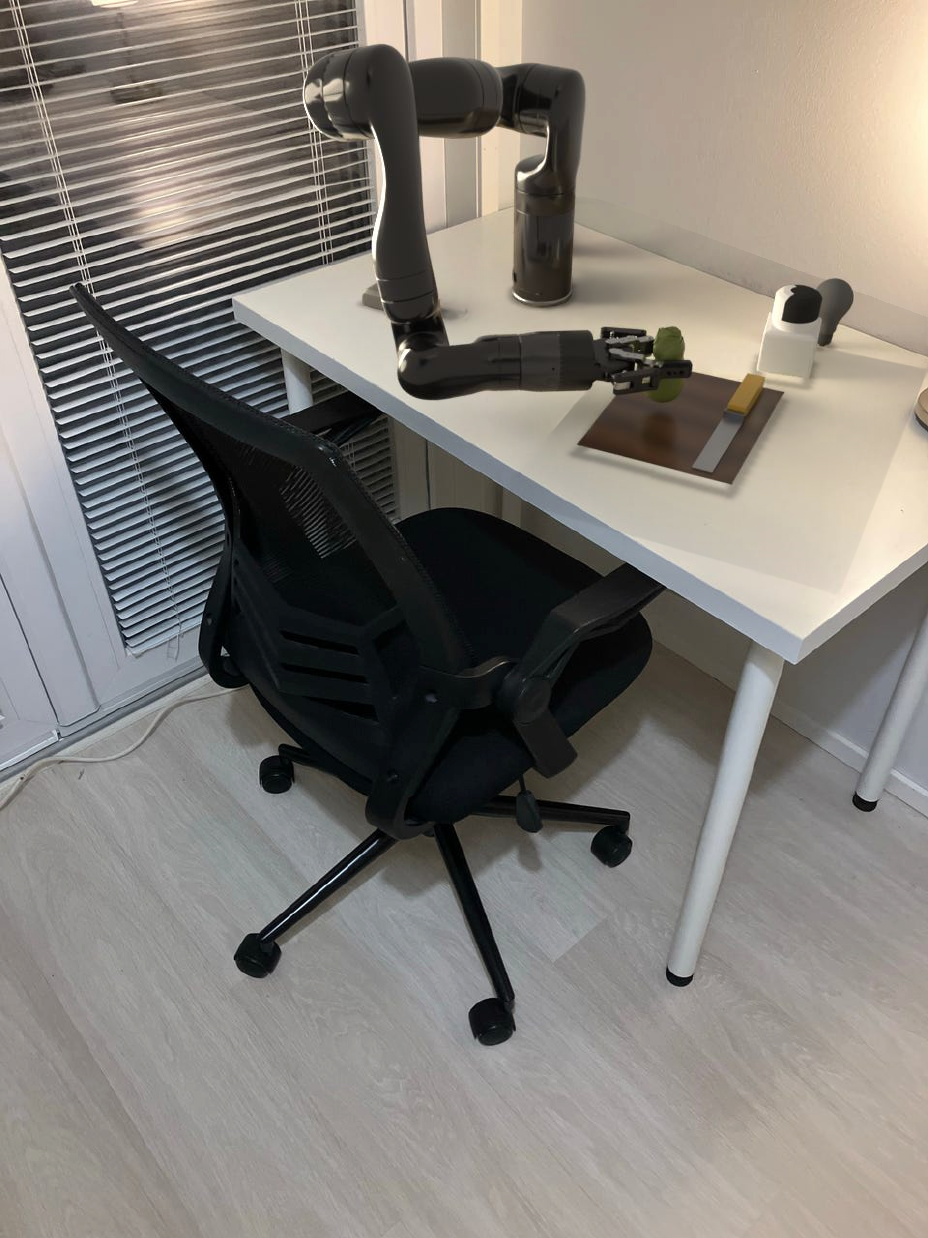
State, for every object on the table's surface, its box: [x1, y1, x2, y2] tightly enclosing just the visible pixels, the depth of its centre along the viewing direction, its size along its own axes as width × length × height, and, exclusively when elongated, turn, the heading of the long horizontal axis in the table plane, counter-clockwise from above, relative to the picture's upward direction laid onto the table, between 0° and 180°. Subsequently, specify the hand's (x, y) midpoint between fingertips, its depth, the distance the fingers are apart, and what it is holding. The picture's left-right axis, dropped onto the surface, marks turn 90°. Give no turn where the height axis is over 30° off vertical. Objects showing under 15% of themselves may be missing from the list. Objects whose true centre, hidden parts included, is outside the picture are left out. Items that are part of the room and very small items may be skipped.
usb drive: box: [361, 281, 441, 311], centre depth 165 cm, size 5×12×3 cm, turn 58°
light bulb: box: [815, 277, 855, 347], centre depth 150 cm, size 6×6×10 cm
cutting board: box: [576, 367, 785, 485], centre depth 137 cm, size 24×20×2 cm
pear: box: [642, 325, 686, 403], centre depth 134 cm, size 6×5×10 cm
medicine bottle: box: [756, 284, 822, 379], centre depth 144 cm, size 7×7×12 cm
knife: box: [692, 372, 766, 474], centre depth 134 cm, size 22×3×2 cm, turn 152°
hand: (686, 357), depth 134 cm, fingers closed on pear, 5 cm apart
